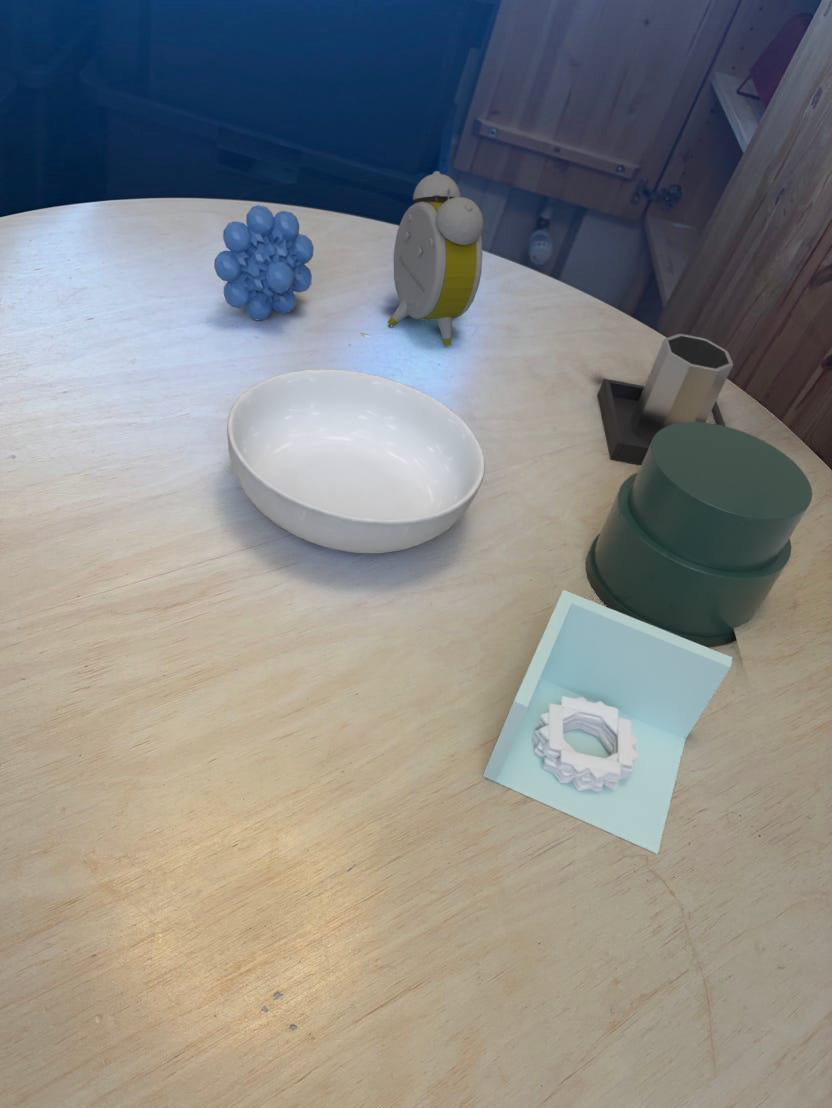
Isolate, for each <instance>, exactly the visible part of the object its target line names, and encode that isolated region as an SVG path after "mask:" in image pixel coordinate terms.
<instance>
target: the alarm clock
mask: <svg viewBox="0 0 832 1108" xmlns="http://www.w3.org/2000/svg"><path fill="white" fill-rule="evenodd" d="M412 195H413V196H412V201H413V202H414V203H413V204H412V205H410V206H409V207H408V209H407V210H406V211H405V212H404V214H403V216H402V218H401V221H400V223H399V225H398V228H397V232H396V237H395V242H394V246H393V247H394V249H393V280H394V287H395V291H396V295H397V298H398V301H399V303H400V304H399V306H398V307H397V308H396V309H395V311H394V312H393V314H392V315H391V316H390V318H389V319H388V321H387V324H388V325H389V326H390V325H393V326H395V325H396V324H398V323H399V322H401V321H402V320H403V319H405V318H407V317H408V316H409V317H410V318H412V319H416V320H421V321H423V320H424V321H425V320H426V321H427V320H430V321H431V320H436V321H437V324H438V328H439V331H440V336H441V339H442V343H443V346H444V347H450V346H451V344H452V334H453V333H452V332H453V331H452V330H453V320H454V319H458V318H460V317H462V316H463V315H464V314H465V313H467V311H468V310H469V308H470V307H471V305H472V304H473V302H474V300H475V297H476V296H477V292H478V290H479V286H480V281H481V276H482V269H483V239H482V235H481V234H482V232H483V228H484V227H483V226H484V219H483V213H482V210H481V209H480V207H479V205H477V203H475V202H474V200H472V199H470V198H467V197H463V196H461V192H460V188H459V187H458V185H457V183H456V181H454V179H452V178H451V177H450V176H448V175H446V174H443V173H441V172H440V171H439V170H435V171H433V173H432V174H429V175H426V176H425V177H423V178H422V179H421V180H419V183H417V185H416V187H415V189H414V192H413V194H412Z"/></svg>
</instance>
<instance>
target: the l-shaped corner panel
mask: <svg viewBox="0 0 832 1108" xmlns="http://www.w3.org/2000/svg"><path fill="white" fill-rule="evenodd" d="M732 662H733V657H732V656H730V655H727V654H724V653H722V652H719V651H717V650H714V649H712V648H711V647H705V646H702V645H700V644H697V643H695V642H692V641H690V640H687V639H685V638H682V637H680V636H677V635H675V634H672V633H670V632H667V631H665V630H662V629H660V628H657V627H655V626H652V625H650V624H647V623H645V622H642V621H640V620H637V619H635V618H632V617H630V616H627V615H625V614H622V613H620V612H617V611H615V610H612V609H610V608H609V607H608V606H605V605H602V604H600V603H597V602H595V601H592V600H590V599H587V598H585V597H582V596H580V595H578V594H575V593H572V592H571V591H568V590H565V589H563V590H562V591H561V593H560V596H559V597H558V600H557V603H556V604H555V607H554V609H553V612H552V614H551V616H550V618H549V621H548V623H547V625H546V627H545V630H544V632H543V634H542V636H541V639H540V641H539V643H538V646H537V648H536V650H535V653H534V655H533V657H532V659H531V661H530V663H529V666H528V668H527V670H526V673H525V675H524V677H523V679H522V682H521V683H520V686H519V688H518V690H517V693H516V695H515V697H514V700H513V702H512V704H511V707H510V709H509V712H508V715H507V717H506V719H505V722H504V724H503V726H502V729H501V730H500V732H499V733H500V734H499V736H498V739H497V740H496V743H495V746H494V748H493V750H492V753H491V754H490V758H489V760H488V762H487V765H486V767H485V769H484V772H483V774H482V777H484V778H486V779H488V780H490V781H493V782H494V783H497V784H498V785H501V786H503V787H506V788H508V789H510V790H513V791H514V792H517V793H519V794H522V795H524V796H526V797H528V798H529V799H530V798H531V799H532V800H535V801H537V802H540V803H541V804H544V805H546V806H549V807H550V808H553V809H555V810H558V811H560V812H562V813H564V814H566V815H569V816H571V817H572V818H575V819H578V820H579V821H582V822H585V823H587V824H588V825H591V826H593V827H595V828H598V829H600V830H602V831H604V832H607V833H609V834H611V835H613V836H616V837H618V838H621V839H623V840H625V841H627V842H629V843H632V844H634V845H635V846H637V847H640V848H643V849H645V850H647V851H650V852H652V853H654V854H657V855H658V854H659V850H660V847H661V842H662V838H663V834H664V830H665V826H666V822H667V817H668V814H669V810H670V805H671V803H672V798H673V797H672V796H673V793H674V788H675V784H676V782H677V781H676V780H677V777H678V772H679V769H680V764H681V760H682V756H683V751H684V747H685V744H686V740H687V738H688V737H689V735H690V733H691V731H692V730H693V728H694V727H695V725H696V723H697V722H698V720H699V719H700V717H701V715H703V713H704V711H705V709H706V707H707V706H708V704H709V703H710V701H711V699H712V698H713V696H714V695H715V693H716V691H717V690H718V688H719V687H720V685H721V683H722V682H723V680H724V679H725V677H726V675H727V674H728V672H729V670H730V669H731V666H732Z"/></svg>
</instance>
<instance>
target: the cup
mask: <svg viewBox="0 0 832 1108" xmlns="http://www.w3.org/2000/svg"><path fill="white" fill-rule="evenodd" d="M733 367H734V363H733V360H732V357H731V355H730V353H729V351H728V350H726V349H725V348H723V347H722V346H719V345H718V344H716V343H714V342H712V341H711V340H710V339H707V338H704V337H700V336H694V335H689V334H684V333H678V334H674V335H671V336H668V337H666V338H664V339H663V341H662V343H661V345H660V348H659V350H658V353H657V355H656V357H655V360H654V363H653V364H652V367H651V370H650V372H649V374H648V377H647V379H646V381H645V383H644V385H643V386H644V389H643V391H642V393H641V396H640V398H639V401H638V403H637V405H636V408H635V410H634V413H633V415H632V417H631V423H632V427H633V431H634V433H635V434H636V435H638V436H639V437H641V438H642V439H644V440H645V441H647V442H648V443H650V444H651V442H652V439H653V437H654V436H655V435H656V433H657V432H659V431H660V430H661V429H663V428H665V427H666V426H669V425H672V424H677V423H683V422H703V423H707V420H708V419H709V416H710V414H711V413H712V408H713V406H714V404H715V402H717V400H718V398H719V396H720V393H721V392H722V389H723V387H724V386H725V383H726V381H727V379H728V377H729V375H730V372H731V370H732V369H733Z"/></svg>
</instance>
